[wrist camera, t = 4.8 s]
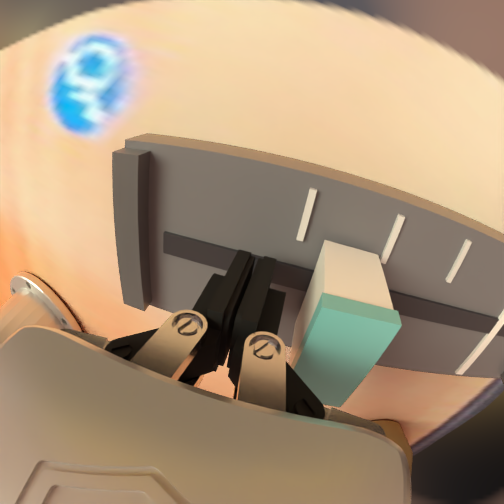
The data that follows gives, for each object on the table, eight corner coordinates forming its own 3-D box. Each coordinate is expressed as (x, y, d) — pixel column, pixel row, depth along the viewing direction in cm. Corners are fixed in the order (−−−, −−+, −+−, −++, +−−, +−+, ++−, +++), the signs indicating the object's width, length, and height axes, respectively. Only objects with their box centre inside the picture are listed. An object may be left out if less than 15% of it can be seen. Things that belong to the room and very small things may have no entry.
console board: (500, 361, 16) (509, 387, 13) (146, 281, 19) (124, 307, 16) (563, 268, 11) (582, 291, 8) (146, 133, 14) (112, 143, 11)
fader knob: (341, 335, 14) (340, 407, 10) (292, 323, 15) (279, 395, 11) (380, 253, 12) (401, 325, 8) (322, 237, 12) (322, 307, 8)
